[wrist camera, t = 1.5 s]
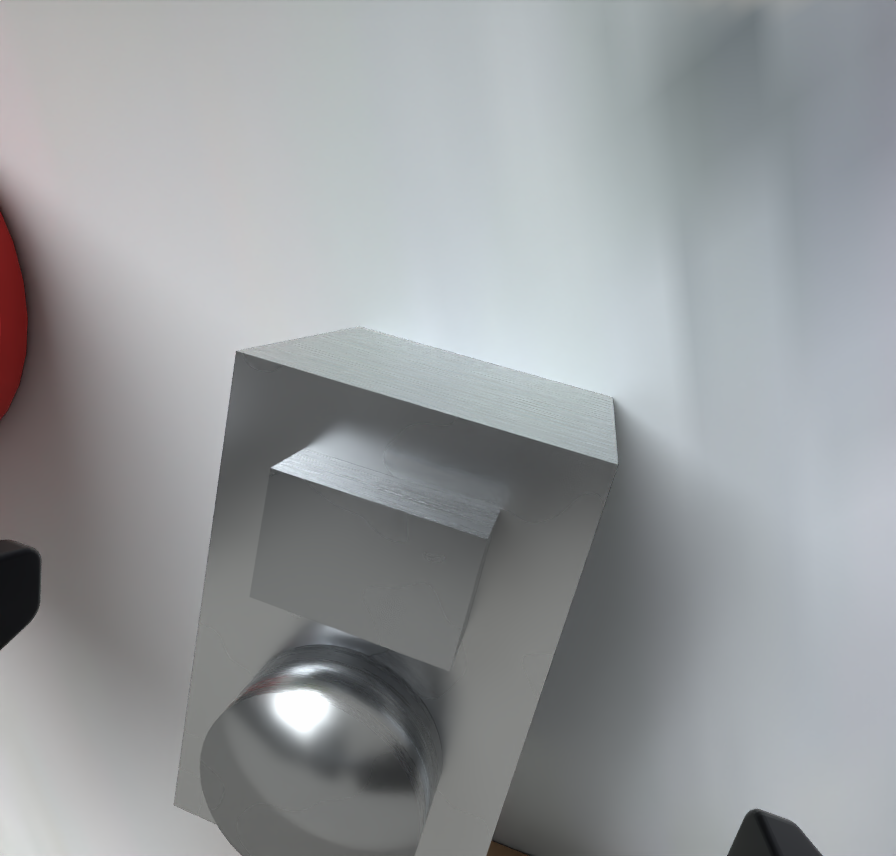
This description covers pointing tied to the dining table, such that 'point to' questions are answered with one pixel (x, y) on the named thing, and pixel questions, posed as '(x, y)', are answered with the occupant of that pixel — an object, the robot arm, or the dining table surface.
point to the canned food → (11, 320)
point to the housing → (384, 593)
